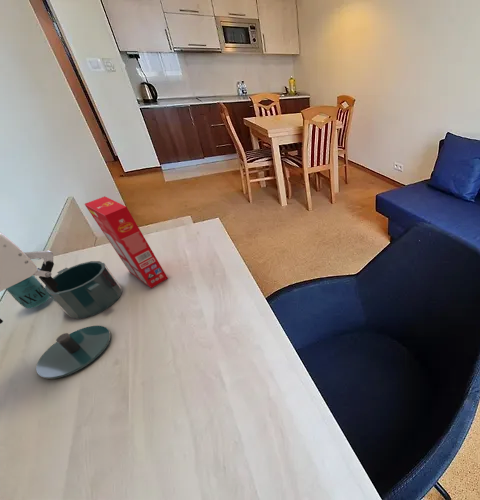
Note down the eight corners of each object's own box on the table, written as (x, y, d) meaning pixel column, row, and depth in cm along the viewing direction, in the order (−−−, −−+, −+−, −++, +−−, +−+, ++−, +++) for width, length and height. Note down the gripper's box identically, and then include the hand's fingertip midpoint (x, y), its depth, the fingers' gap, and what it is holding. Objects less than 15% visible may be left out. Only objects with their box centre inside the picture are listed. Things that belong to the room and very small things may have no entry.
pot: (87, 328, 80) (64, 302, 74) (54, 307, 88) (31, 282, 82) (136, 294, 89) (119, 269, 83) (103, 278, 97) (85, 254, 92)
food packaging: (168, 278, 94) (126, 206, 80) (151, 288, 91) (104, 215, 76) (146, 263, 102) (104, 196, 87) (130, 272, 98) (84, 203, 84)
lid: (56, 391, 65) (38, 375, 62) (28, 365, 71) (10, 350, 68) (124, 340, 75) (111, 324, 72) (94, 321, 81) (81, 306, 78)
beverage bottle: (21, 312, 87) (-36, 256, 76) (43, 295, 93) (-7, 241, 81) (39, 313, 86) (-16, 257, 75) (60, 296, 91) (12, 242, 80)
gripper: (14, 211, 61) (66, 276, 71) (-118, 259, 49) (-34, 328, 59) (30, 218, 58) (81, 284, 68) (-107, 271, 46) (-20, 342, 56)
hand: (28, 305), depth 64 cm, fingers open, 9 cm apart
